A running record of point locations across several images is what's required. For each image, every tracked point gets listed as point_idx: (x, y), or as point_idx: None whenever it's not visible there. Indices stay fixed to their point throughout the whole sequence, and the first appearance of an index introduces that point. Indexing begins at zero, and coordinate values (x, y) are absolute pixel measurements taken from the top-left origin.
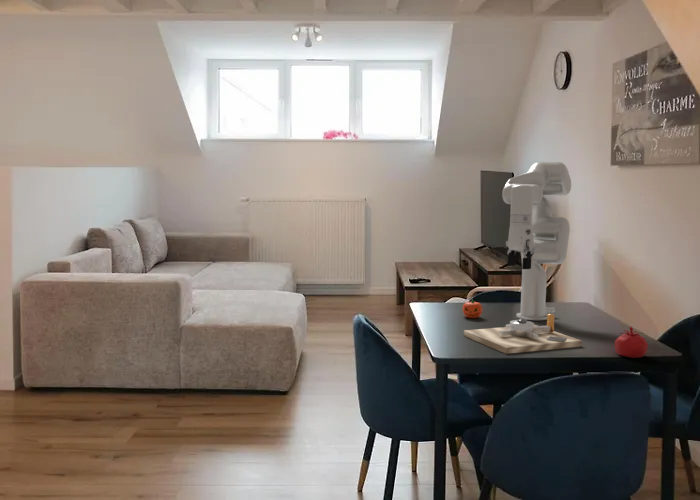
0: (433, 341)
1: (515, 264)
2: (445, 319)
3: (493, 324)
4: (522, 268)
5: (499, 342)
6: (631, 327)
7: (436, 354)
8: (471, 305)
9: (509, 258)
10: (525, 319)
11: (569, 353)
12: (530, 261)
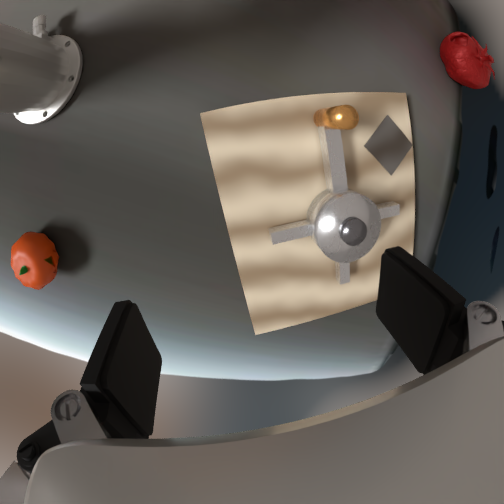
0: (288, 375)
1: (135, 308)
2: (78, 317)
3: (117, 217)
4: (380, 315)
5: (377, 290)
6: (492, 59)
7: (362, 373)
8: (42, 277)
9: (154, 407)
10: (355, 220)
11: (434, 159)
12: (437, 285)
